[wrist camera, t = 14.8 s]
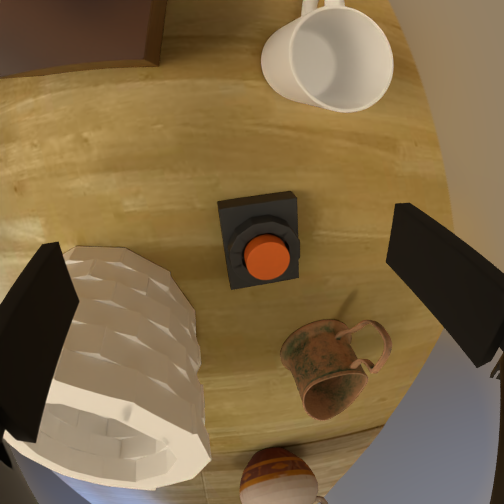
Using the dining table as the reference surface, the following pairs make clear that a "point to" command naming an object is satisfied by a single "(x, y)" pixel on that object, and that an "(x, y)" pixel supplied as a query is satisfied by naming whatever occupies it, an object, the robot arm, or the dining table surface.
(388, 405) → the dining table surface
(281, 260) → the button
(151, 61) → the chest
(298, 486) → the jug
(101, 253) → the basket
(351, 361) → the mug
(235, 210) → the button base
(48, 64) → the lid
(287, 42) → the mug
